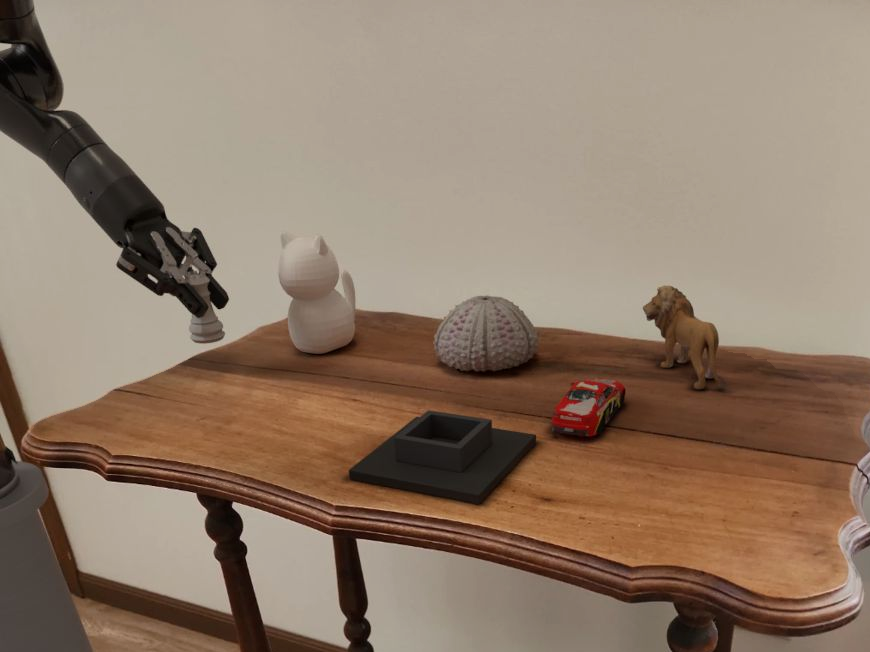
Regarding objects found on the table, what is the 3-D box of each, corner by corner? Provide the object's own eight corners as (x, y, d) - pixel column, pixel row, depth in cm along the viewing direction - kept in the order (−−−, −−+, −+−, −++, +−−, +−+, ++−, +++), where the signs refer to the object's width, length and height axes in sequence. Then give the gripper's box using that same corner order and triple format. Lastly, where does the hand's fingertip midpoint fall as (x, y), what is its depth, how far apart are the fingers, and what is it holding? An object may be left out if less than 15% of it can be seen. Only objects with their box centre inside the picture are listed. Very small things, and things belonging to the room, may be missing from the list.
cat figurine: (274, 354, 111) (253, 237, 102) (331, 328, 119) (316, 218, 111) (325, 364, 107) (307, 242, 98) (380, 336, 115) (368, 222, 106)
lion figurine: (632, 359, 102) (638, 285, 97) (667, 351, 104) (675, 279, 99) (707, 397, 91) (719, 315, 86) (745, 387, 93) (759, 307, 88)
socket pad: (479, 504, 73) (478, 469, 71) (349, 479, 79) (344, 446, 77) (536, 443, 83) (536, 411, 81) (417, 424, 89) (414, 394, 87)
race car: (585, 393, 94) (586, 359, 92) (630, 400, 92) (633, 365, 89) (542, 437, 84) (543, 400, 82) (592, 445, 82) (594, 408, 80)
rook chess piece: (221, 343, 102) (208, 277, 97) (186, 345, 102) (171, 278, 97) (229, 332, 105) (216, 268, 101) (195, 334, 105) (181, 269, 101)
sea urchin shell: (414, 363, 105) (410, 299, 101) (491, 338, 112) (490, 277, 107) (483, 388, 97) (481, 320, 92) (561, 359, 103) (563, 295, 99)
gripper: (79, 182, 90) (187, 303, 93) (167, 164, 101) (263, 274, 103) (60, 231, 95) (164, 345, 98) (146, 209, 106) (237, 313, 108)
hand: (214, 308), depth 100 cm, fingers closed on rook chess piece, 3 cm apart
